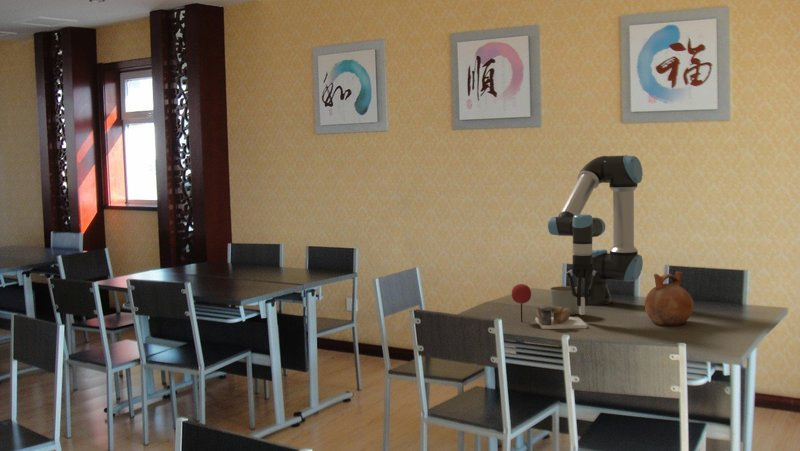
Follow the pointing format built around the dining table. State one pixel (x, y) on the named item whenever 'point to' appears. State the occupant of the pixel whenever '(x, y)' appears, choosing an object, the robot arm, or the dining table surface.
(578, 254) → the robot arm
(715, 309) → the dining table surface
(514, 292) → the lollipop
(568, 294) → the planter
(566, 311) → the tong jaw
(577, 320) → the board
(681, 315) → the jug
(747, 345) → the dining table surface
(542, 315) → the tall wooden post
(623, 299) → the dining table surface
